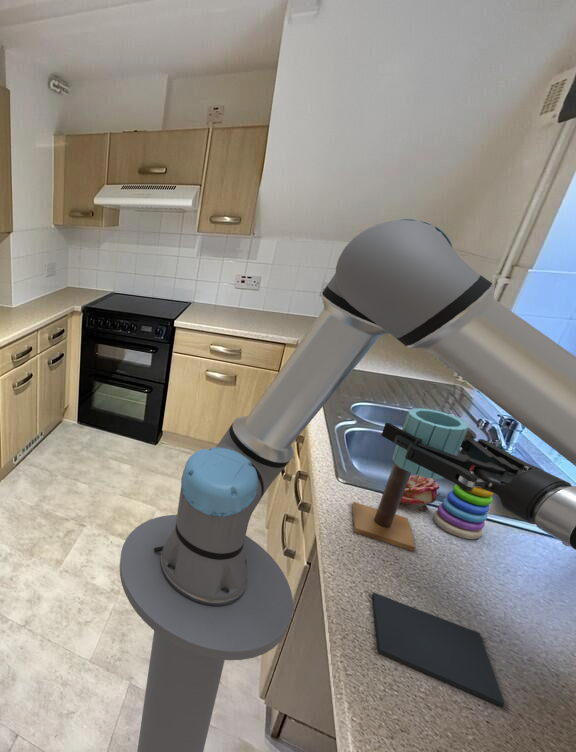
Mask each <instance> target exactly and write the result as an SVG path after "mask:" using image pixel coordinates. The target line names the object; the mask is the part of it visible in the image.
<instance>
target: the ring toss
mask: <svg viewBox="0 0 576 752" xmlns="http://www.w3.org/2000/svg"><path fill="white" fill-rule="evenodd" d="M410 476H412V473H411V472H408V471H406V470H404V469H403V468H400V467H399V466H398V465H397V464H395V463H394V462H393V466H392V469H391V471H390V473H389V476H388V479H387V482H386V485H385V488H384V489H383V493H382V496H381V498H380V501H379V504H378V507H377V508H376V507H373V506H369V505H366V504H363V503H359V502H356V501H353V503H352V506H351V507H352V520H353V532H354V533H356V534H359V535H362V536H365V537H368V538H371V539H374V540H376V541H380V542H383V543H386V544H389V545H392V546H395V547H398V548H400V549H401V548H402V549H404V550H407V551H410V552H414V551H415V549H416V545H415V540H414V537H413V533H412V529H411V525H410V521H409V518H408V517H405V516H403V515H399V514H397V512H398V509H399V506H400V504H401V503H400V501H401V498H402V496H403V493H404V491H405V488H406V485H407V483H408V480H409V477H410Z"/></svg>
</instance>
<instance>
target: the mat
mask: <svg viewBox="0 0 576 752" xmlns="http://www.w3.org/2000/svg"><path fill="white" fill-rule="evenodd" d="M371 596H372V606H373V607H372V608H373V615H374V624H375V625H374V626H375V633H376V642H377V651H378V654H380V655H382V656H384V657H387V658H390V659H392V660H394V661H396V662H399V663H401V664H402V665H406V666H407V667H411V668H412V669H415V670H417V671H419V672H421V673H424V674H426V675H429V676H431V677H433V678H435V679H437V680H440V681H442V682H444V683H447V684H449V685H451V686H453V687H456V688H458V689H460V690H463V691H465V692H466V693H470V694H472V695H474V696H476V697H479V698H481V699H483V700H486V701H487V702H489V703H492V704H495V705H497V706H499V707H502V708H503V707H504V706H505V704H506V703H505V701H504V700H505V699H504V698H503V694H502V692H501V689H500V686H499V684H498V680H497V678H496V675H495V673H494V670H493V667H492V664H491V661H490V659H489V656H488V653H487V650H486V647H485V644H484V641H483V638H482V636H481V633H480V632H478V631H476V630H473V629H470V628H468V627H465V626H463V625H460V624H457V623H455V622H452V621H449V620H446V619H443V618H441V617H439V616H436V615H434V614H431V613H428V612H426V611H423V610H421V609H418V608H416V607H412V606H410V605H407V604H405V603H402V602H400V601H397V600H394V599H391V598H390V597H386V596H384V595H381V594H379V593H376V592H373V593H372V595H371Z"/></svg>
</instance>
